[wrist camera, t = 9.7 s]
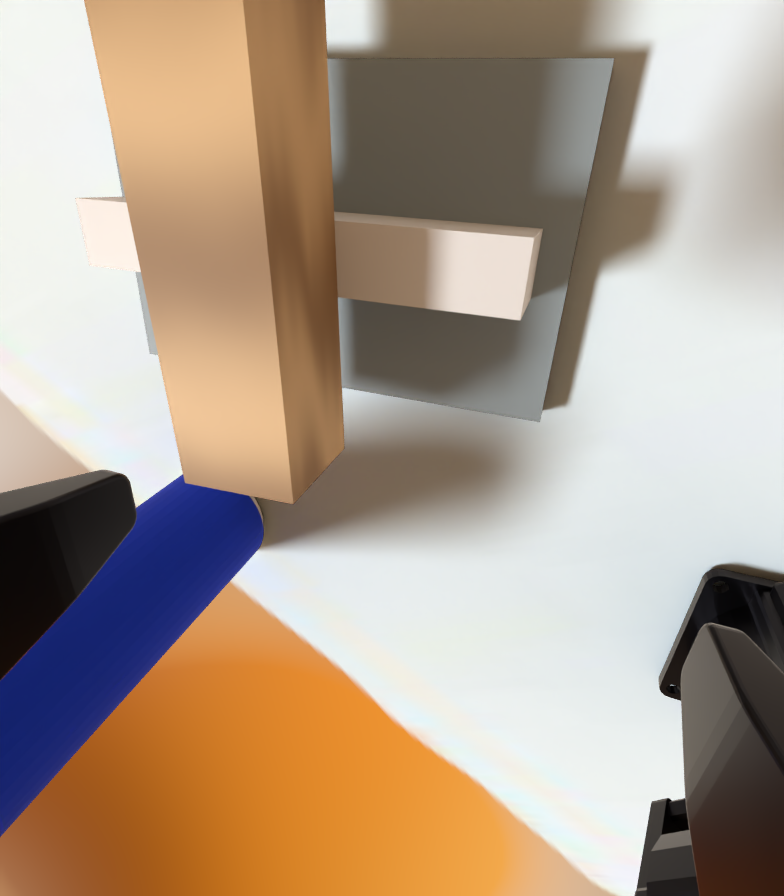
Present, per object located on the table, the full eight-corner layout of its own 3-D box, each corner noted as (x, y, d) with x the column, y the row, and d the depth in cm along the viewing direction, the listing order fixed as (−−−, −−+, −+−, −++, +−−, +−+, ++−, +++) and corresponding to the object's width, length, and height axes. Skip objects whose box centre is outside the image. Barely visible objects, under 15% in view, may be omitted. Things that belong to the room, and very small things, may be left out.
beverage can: (217, 444, 24) (-193, 735, 11) (290, 527, 25) (-18, 884, 12) (163, 492, 27) (-220, 771, 14) (230, 565, 28) (-74, 891, 15)
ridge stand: (542, 411, 18) (532, 462, 15) (166, 347, 23) (92, 376, 19) (612, 65, 14) (621, 27, 10) (121, 64, 18) (13, 36, 14)
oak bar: (344, 448, 17) (293, 504, 14) (251, 433, 18) (184, 482, 15) (322, -34, 11) (232, -109, 9) (190, -17, 12) (67, -80, 10)
